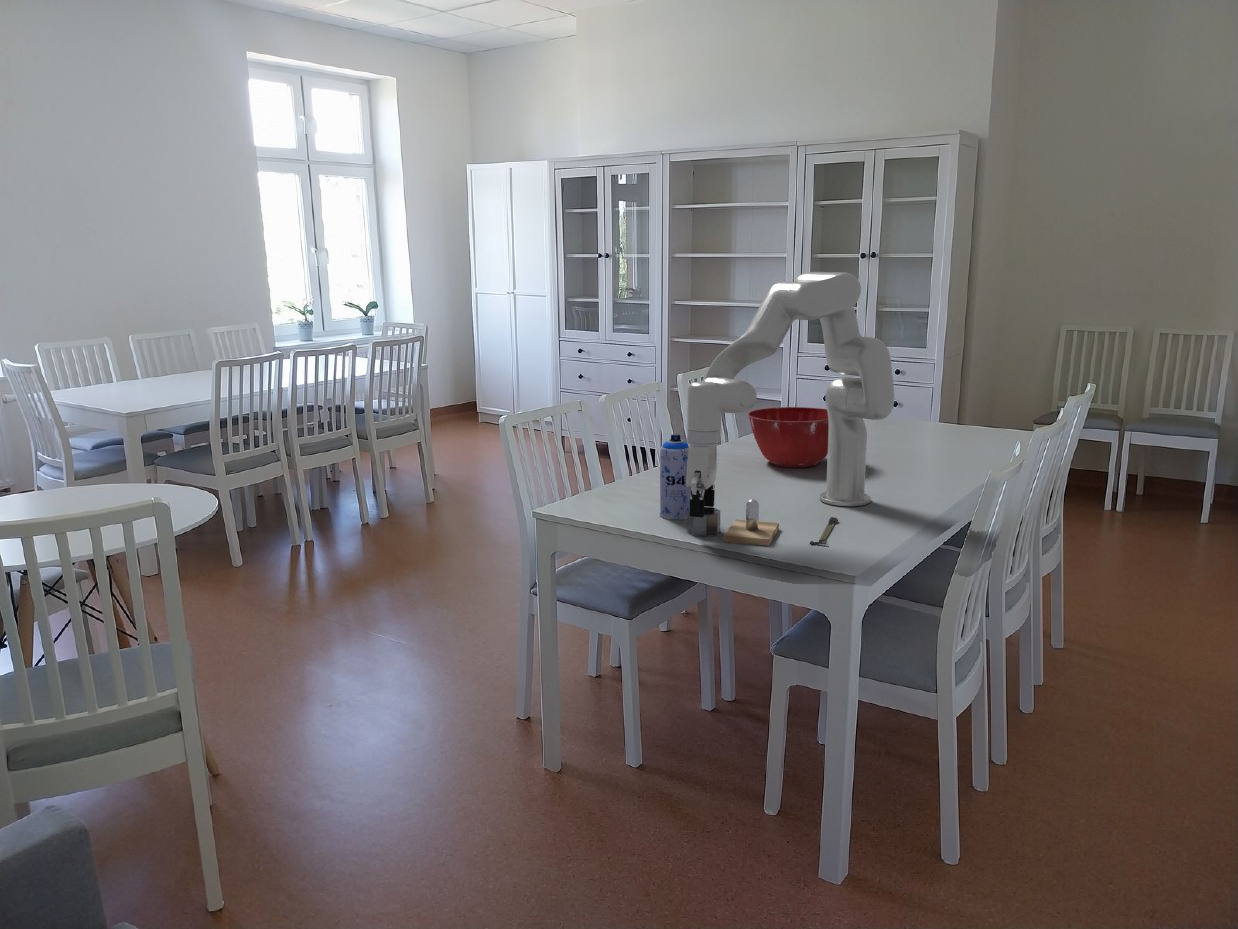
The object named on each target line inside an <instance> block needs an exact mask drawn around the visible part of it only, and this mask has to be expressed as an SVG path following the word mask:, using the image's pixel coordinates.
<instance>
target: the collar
mask: <svg viewBox="0 0 1238 929" xmlns="http://www.w3.org/2000/svg"><path fill="white" fill-rule="evenodd" d="M686 519H687V521H686V524H687V527H686V528H687V529H686V530H687V532H688V533H687V534H689V533H690V535H691V534H692V535H691V536H694V537H703V538H708V537H714V535H715V536H718V535H719V533H720V532H721V510H720V509H718V508H715V507H714V506H713V507H706V506H704V517H691V516H690V509H689V510H688V511H687V518H686ZM717 534H718V535H717Z"/></svg>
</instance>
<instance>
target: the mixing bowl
mask: <svg viewBox="0 0 1238 929" xmlns="http://www.w3.org/2000/svg"><path fill="white" fill-rule="evenodd" d="M747 416H748V418H749V423H750V427H751V431H752V433H753V434H752V435H753V436H754V439H755V442H756V444H757V446H758V448H759V450H760V453H761V454H762V456H763V457H764V459H766V460H767V461H768V462H770V463H771V464H772V465H774V466H777V467H781V468H782V467H783V468H796V469H797V468H798V469H799V468H808V467H809V468H810V467H814V466H816V465H817V464H819V463H821V462H822V461H823V460H824V459H825V458H826V457H828V413H827V408H819V407H808V406H807V407H803V406H802V407H801V406H789V407H787V406H785V407H769V408H768V407H766V408H760V409H754V410H751V411H748V413H747Z"/></svg>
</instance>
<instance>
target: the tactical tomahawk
mask: <svg viewBox="0 0 1238 929" xmlns="http://www.w3.org/2000/svg"><path fill="white" fill-rule="evenodd" d="M838 521H839V519H838V518H837V517H834V516H831V517H830V518H829V520H828V523H827V524H826V526H825V528H824V530H823V532H822V534H821V536H820V537H819V540H818V541H814V540H813V541H812V540H811V541H809V545H810V544H811V545H810V546H816V545H817V546H818V547H824V548H830V547H829V546H830V545H827V543H828V541H827V539H828V537H829V535H831V534H830V533H831V532H832V531H833V529H834V527H835V526H836V523H837V522H838Z"/></svg>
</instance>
